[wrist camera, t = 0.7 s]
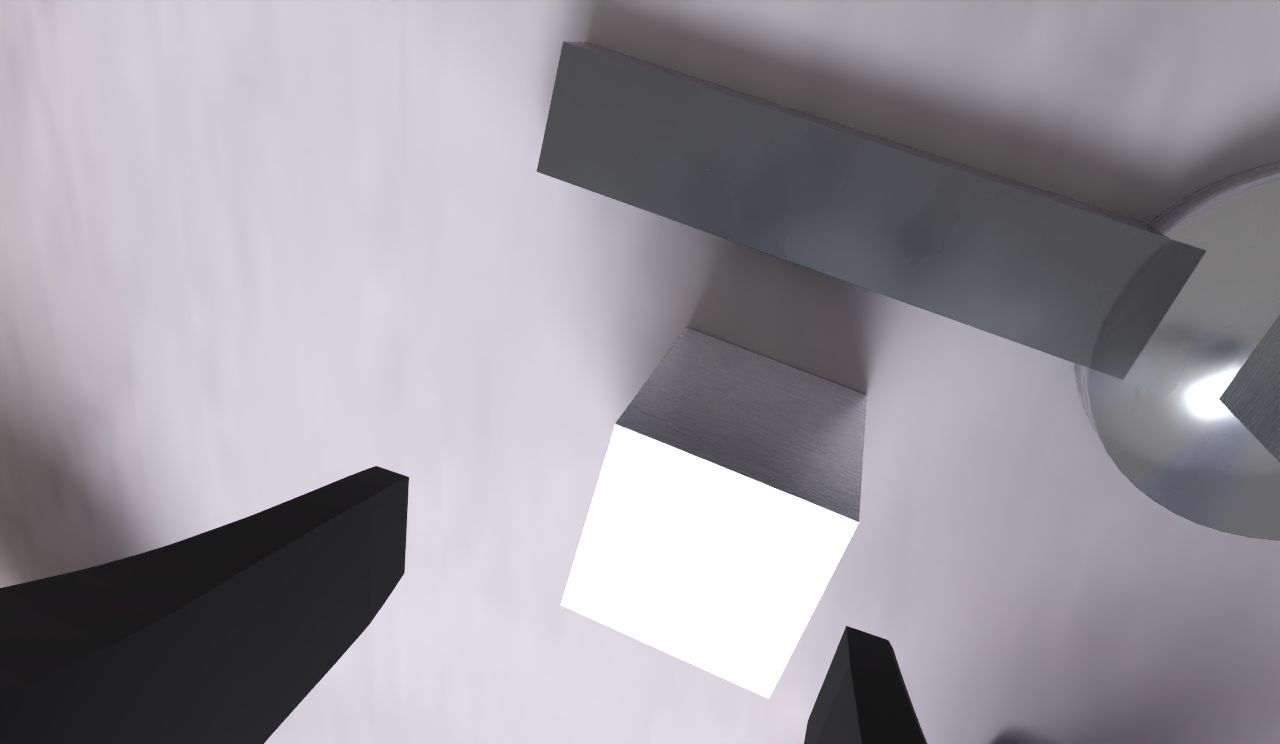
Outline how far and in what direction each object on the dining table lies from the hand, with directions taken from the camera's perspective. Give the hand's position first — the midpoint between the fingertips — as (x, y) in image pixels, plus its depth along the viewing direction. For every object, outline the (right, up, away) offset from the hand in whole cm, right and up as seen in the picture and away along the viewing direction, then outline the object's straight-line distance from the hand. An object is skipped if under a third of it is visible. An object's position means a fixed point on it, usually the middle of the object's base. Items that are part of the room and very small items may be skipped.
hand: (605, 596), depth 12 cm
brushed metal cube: (+3, +2, +9) cm, 10 cm away
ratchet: (+9, +6, +6) cm, 12 cm away
